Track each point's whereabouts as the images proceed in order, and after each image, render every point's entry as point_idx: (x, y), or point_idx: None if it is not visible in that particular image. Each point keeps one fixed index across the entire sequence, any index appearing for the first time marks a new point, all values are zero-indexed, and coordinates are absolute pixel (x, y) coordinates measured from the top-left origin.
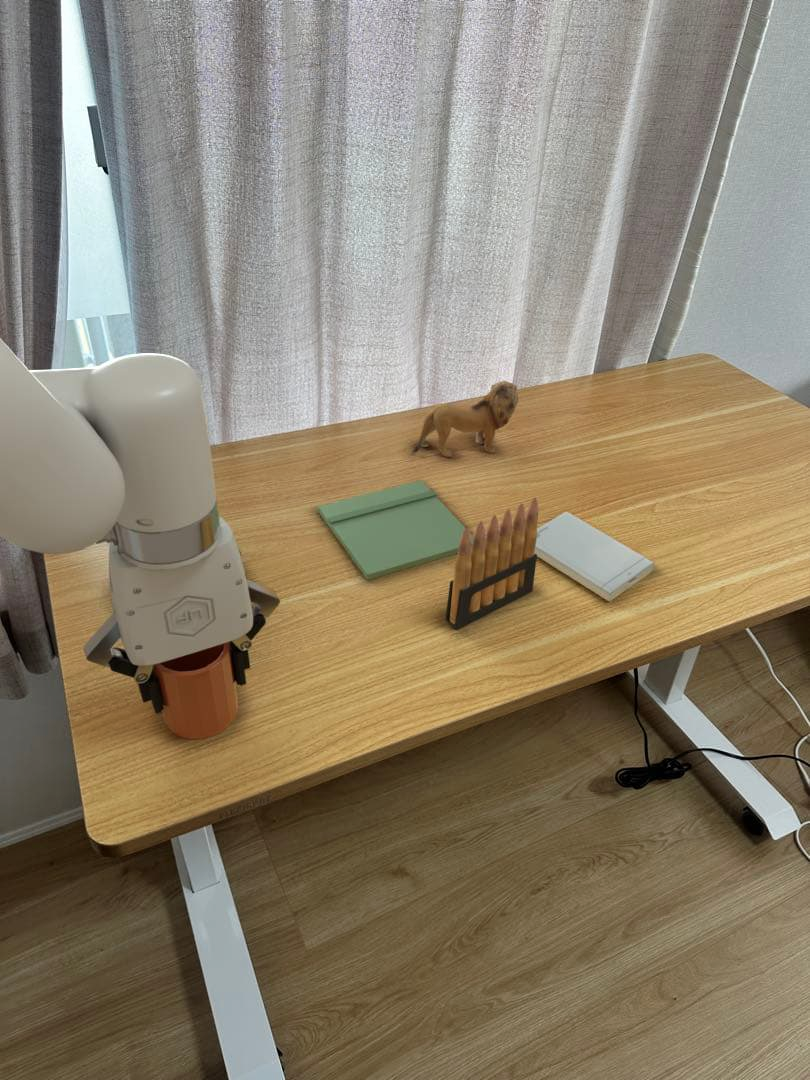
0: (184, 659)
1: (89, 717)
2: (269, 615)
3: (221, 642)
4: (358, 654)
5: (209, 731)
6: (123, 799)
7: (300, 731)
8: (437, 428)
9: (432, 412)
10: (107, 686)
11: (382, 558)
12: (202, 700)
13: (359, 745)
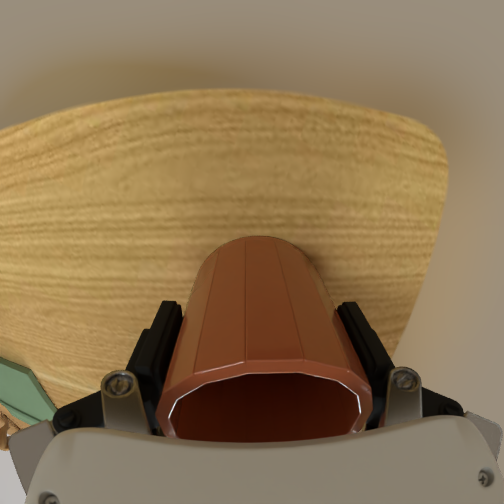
0: (263, 388)
1: (392, 335)
2: (44, 421)
3: (165, 450)
4: (28, 285)
5: (262, 240)
6: (417, 184)
7: (112, 180)
8: (5, 437)
9: (5, 449)
10: None
11: (18, 380)
12: (274, 286)
13: (50, 123)
